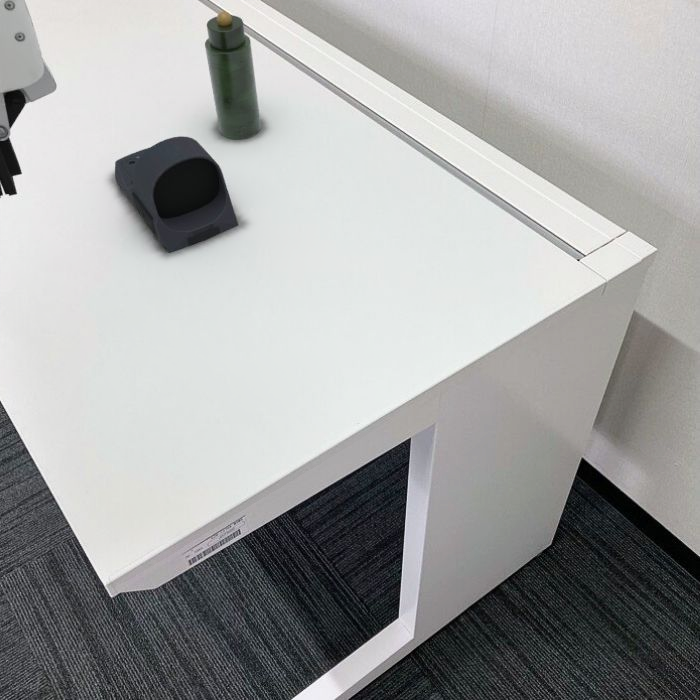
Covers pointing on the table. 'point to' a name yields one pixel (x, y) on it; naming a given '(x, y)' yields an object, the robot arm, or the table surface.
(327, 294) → the table surface
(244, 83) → the pepper mill
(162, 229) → the sight
